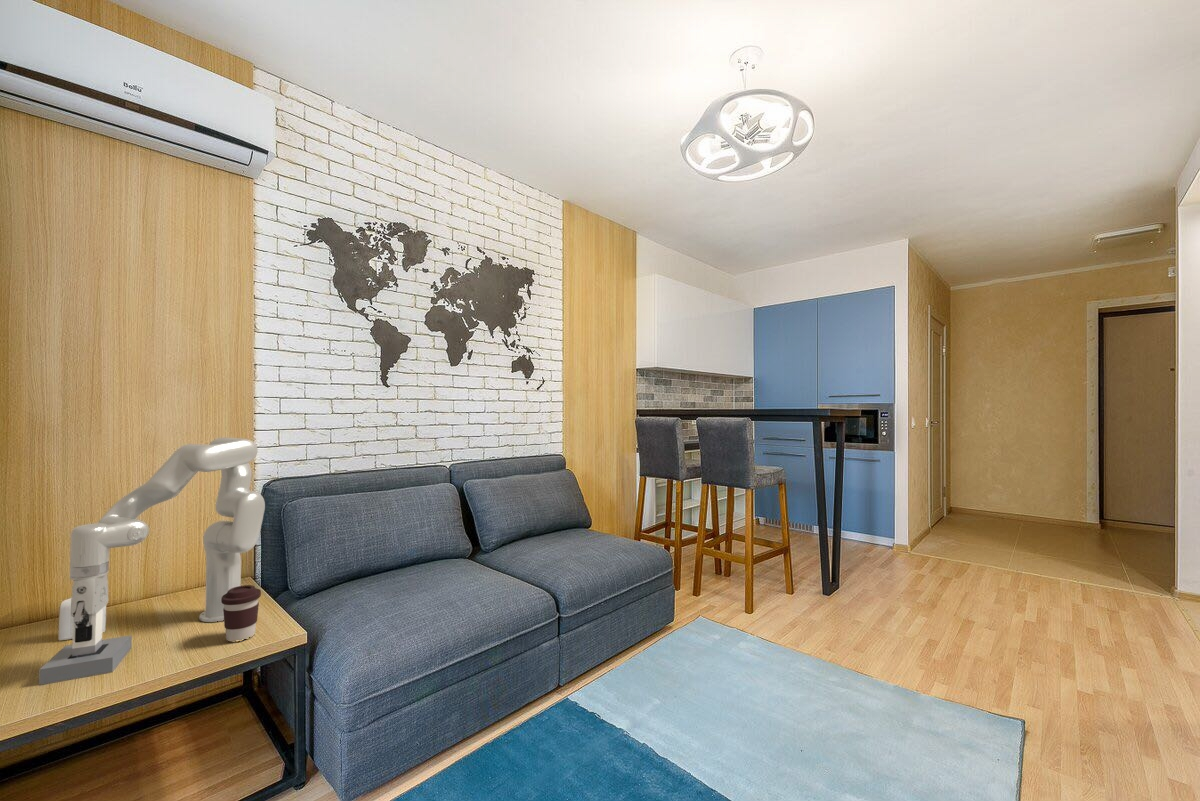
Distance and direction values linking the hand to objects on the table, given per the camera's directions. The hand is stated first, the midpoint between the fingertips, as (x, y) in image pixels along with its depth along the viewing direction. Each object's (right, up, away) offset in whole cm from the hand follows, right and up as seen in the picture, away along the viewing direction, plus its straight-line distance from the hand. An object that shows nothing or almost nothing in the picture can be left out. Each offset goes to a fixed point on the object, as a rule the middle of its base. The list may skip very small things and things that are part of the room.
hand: (87, 636), depth 137 cm
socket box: (0, -8, 0) cm, 8 cm away
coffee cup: (+29, -9, +18) cm, 35 cm away
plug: (0, -4, 0) cm, 4 cm away
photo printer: (-19, -8, +17) cm, 27 cm away
